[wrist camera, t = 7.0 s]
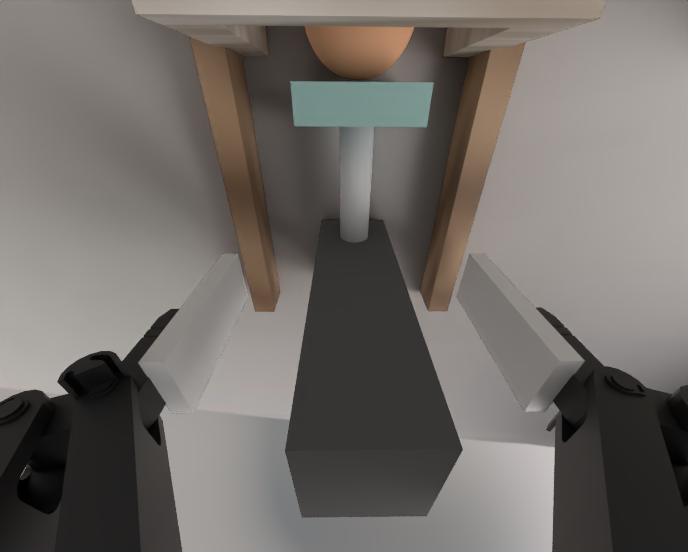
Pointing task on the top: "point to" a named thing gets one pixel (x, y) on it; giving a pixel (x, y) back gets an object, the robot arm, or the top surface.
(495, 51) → the lane
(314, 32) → the brown egg
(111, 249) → the top surface
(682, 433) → the robot arm
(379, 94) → the striker
